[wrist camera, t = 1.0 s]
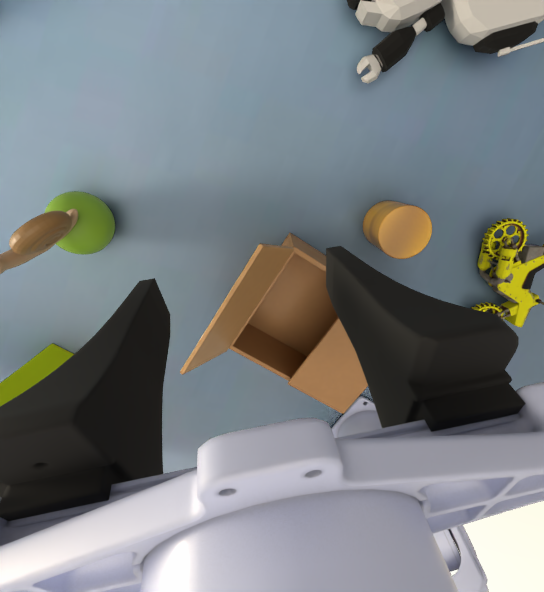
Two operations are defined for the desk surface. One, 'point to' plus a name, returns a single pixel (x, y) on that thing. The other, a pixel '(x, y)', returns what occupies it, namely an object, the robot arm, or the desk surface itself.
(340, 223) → the desk surface
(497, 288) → the toy motorcycle
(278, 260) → the flap
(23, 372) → the puzzle toy
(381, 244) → the cylinder
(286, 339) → the toy box
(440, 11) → the robot toy
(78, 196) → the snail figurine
